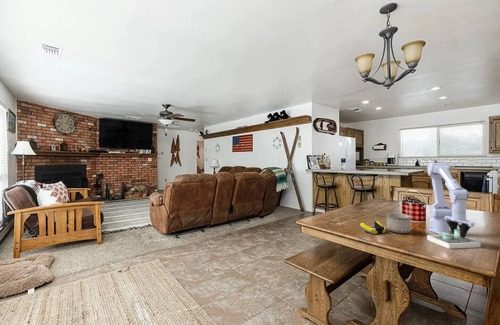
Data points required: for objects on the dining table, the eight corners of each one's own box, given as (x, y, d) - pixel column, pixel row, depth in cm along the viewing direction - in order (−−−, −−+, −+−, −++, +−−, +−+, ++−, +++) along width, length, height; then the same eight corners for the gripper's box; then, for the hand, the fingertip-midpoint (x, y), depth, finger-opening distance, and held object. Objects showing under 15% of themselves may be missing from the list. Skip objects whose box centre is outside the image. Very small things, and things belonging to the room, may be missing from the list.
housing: (449, 248, 117) (449, 238, 117) (427, 239, 130) (427, 230, 130) (480, 247, 118) (480, 236, 118) (455, 238, 131) (455, 228, 131)
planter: (389, 233, 141) (389, 217, 141) (385, 227, 153) (385, 212, 153) (413, 235, 137) (413, 218, 136) (407, 229, 148) (407, 213, 148)
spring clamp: (358, 230, 148) (370, 235, 138) (358, 222, 148) (370, 226, 138) (376, 228, 152) (389, 232, 143) (376, 220, 152) (389, 224, 142)
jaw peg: (451, 239, 126) (452, 229, 126) (458, 239, 126) (458, 229, 126) (458, 242, 122) (458, 231, 122) (465, 242, 123) (465, 231, 122)
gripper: (439, 208, 131) (439, 231, 131) (465, 214, 116) (465, 240, 117) (450, 208, 132) (450, 231, 132) (478, 214, 117) (477, 240, 117)
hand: (458, 235), depth 124 cm, fingers open, 4 cm apart
